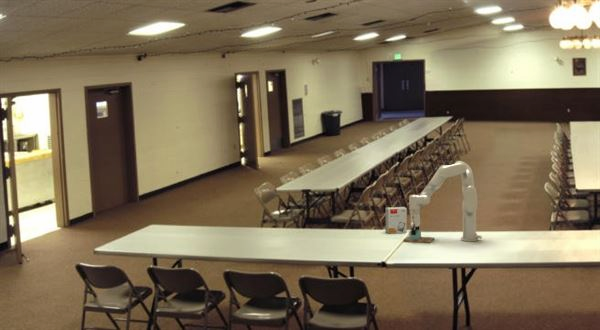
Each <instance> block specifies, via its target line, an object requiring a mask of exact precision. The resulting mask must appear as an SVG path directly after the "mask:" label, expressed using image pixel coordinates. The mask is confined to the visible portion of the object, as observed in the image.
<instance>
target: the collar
mask: <svg viewBox="0 0 600 330" xmlns="http://www.w3.org/2000/svg"><path fill="white" fill-rule="evenodd" d="M408 231H409V232H408V234H409V235H408V236H409V239H414V240H419V239H420V238H421V237H422V230H421V229H419V230H416V235H411V229H410V230H408Z"/></svg>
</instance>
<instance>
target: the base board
mask: <svg viewBox="0 0 600 330" xmlns="http://www.w3.org/2000/svg"><path fill="white" fill-rule="evenodd" d="M433 241H435V237H432V236H431V237H430V236H421V238H420V239H419V240H414V239H409V235H408V236H407V237H405V238H404V239H403V243H414V244H428V245H429V244H431V243H432V242H433Z"/></svg>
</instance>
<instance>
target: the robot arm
mask: <svg viewBox="0 0 600 330" xmlns="http://www.w3.org/2000/svg"><path fill="white" fill-rule="evenodd" d="M459 175H460V176H461V185H462V186H461V190H462V191H461V192H462V195H463V200H462V205H461V207H462V208H461V209H462V237H460V240H461V241H463V242H477V241H479V239H482V238H483V236H482V235H478V233H477V214H476V213H477V212H476V211H477V210H478V194H477V193H478V192H477V189H476V187H475V181H474V180H475V179H474V173H473V170H472V168H471V167H470V165H469V164H468V163H466V161H462V160H456V161H455V162H454V163H453V164H450V165H447V164H442V165H440V166H439V168H438V169H437V170H436V172H435V173H434V175H433V177H432V178H431V179H430V181H429V182H428V183H427V185H426V186H425V187H424V188H423V190H422V191H421V193H420V195H419V194H410V195H409V197H408V201H409V202H408V203H409V214H410V230H411V235H416V230H420V225H421V215H420V214H421V213H420V212H421V207H420V205H421V206H427V205H429V203H430V202H431V197H432V195H433V194H434V193H435V192H436V191H437V190H439V189H440V188H441V187H442V185H443V183H444V182H445V180H447V178H452V177H456V176H459Z"/></svg>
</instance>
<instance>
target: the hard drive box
mask: <svg viewBox="0 0 600 330" xmlns="http://www.w3.org/2000/svg"><path fill="white" fill-rule="evenodd" d="M407 211H408V210H407V207H405V206H395V207H394V206H393V207H392V206H391V207H385V232H386V233H387V234H388V235H389V233H393V234H406V233H405V232H407V231H408V229H407V227H408V226H407V223H408V222H407V219H408V218H407V215H408V214H407Z"/></svg>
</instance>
